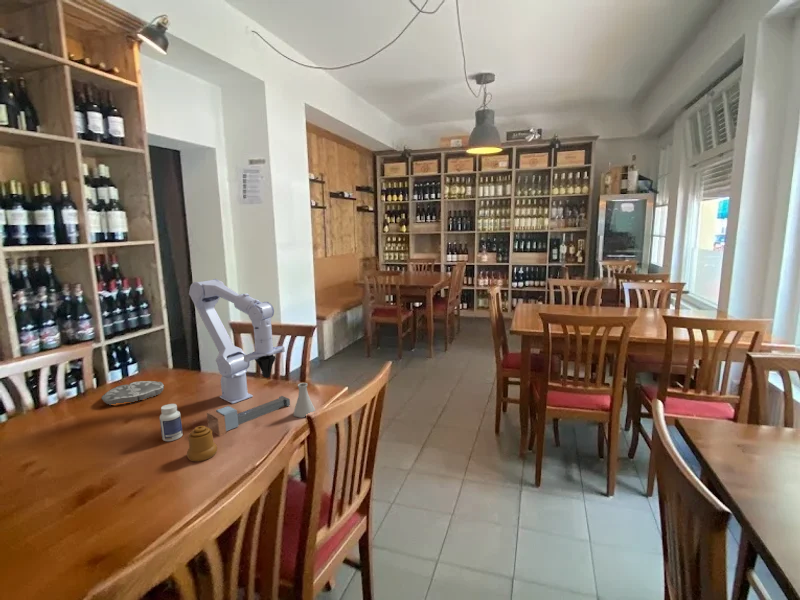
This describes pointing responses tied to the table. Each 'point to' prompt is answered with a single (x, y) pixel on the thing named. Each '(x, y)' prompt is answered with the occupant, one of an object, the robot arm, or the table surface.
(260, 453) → the table surface
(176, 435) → the pill bottle
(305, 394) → the flask
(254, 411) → the rail
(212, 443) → the ornamental finial
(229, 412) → the block
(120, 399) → the brain slice
